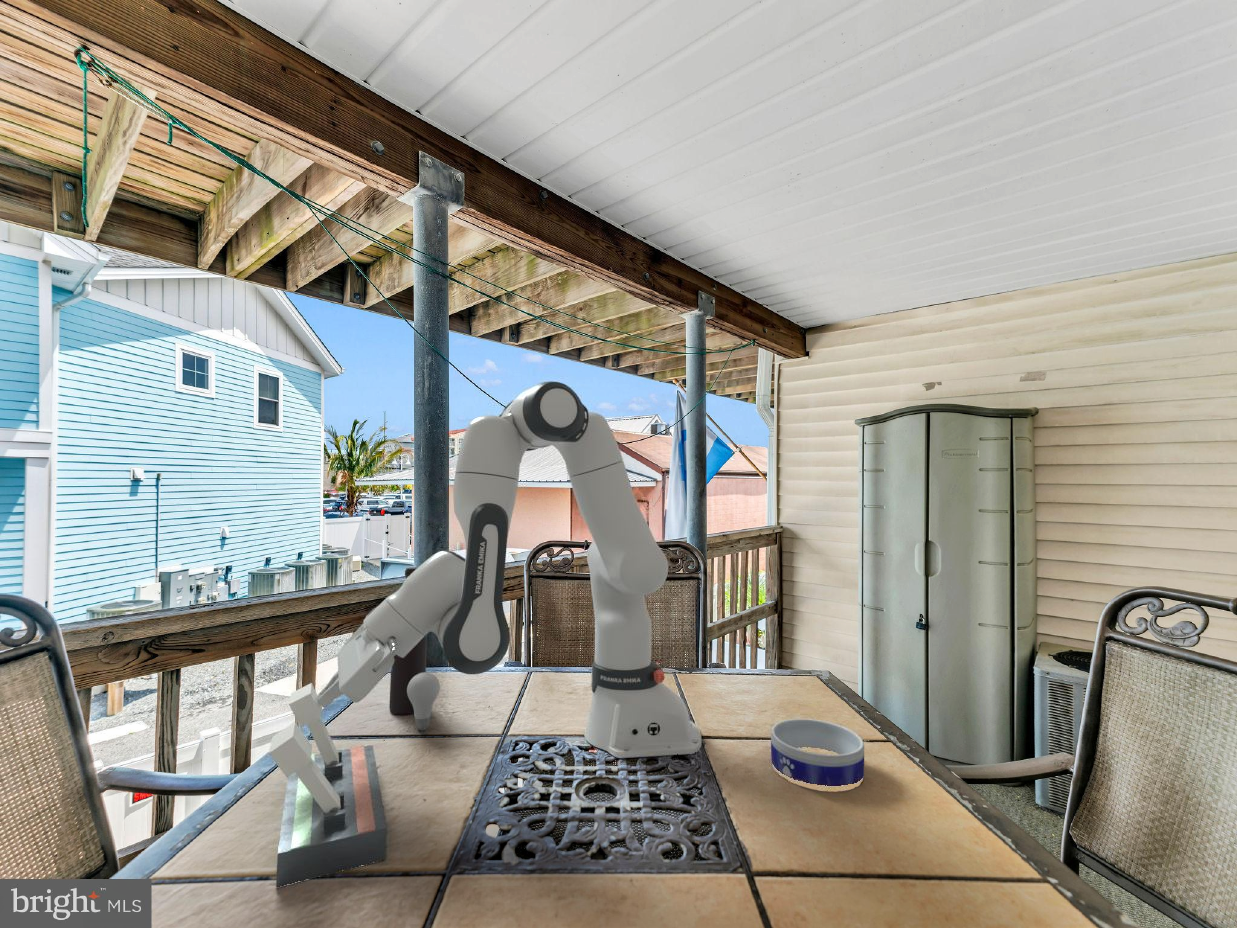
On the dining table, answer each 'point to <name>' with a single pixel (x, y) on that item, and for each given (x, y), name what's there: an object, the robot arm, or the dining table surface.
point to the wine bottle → (406, 672)
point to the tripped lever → (313, 721)
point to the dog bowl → (816, 765)
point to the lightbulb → (423, 697)
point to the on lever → (303, 766)
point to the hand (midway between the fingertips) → (320, 702)
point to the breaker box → (333, 821)
